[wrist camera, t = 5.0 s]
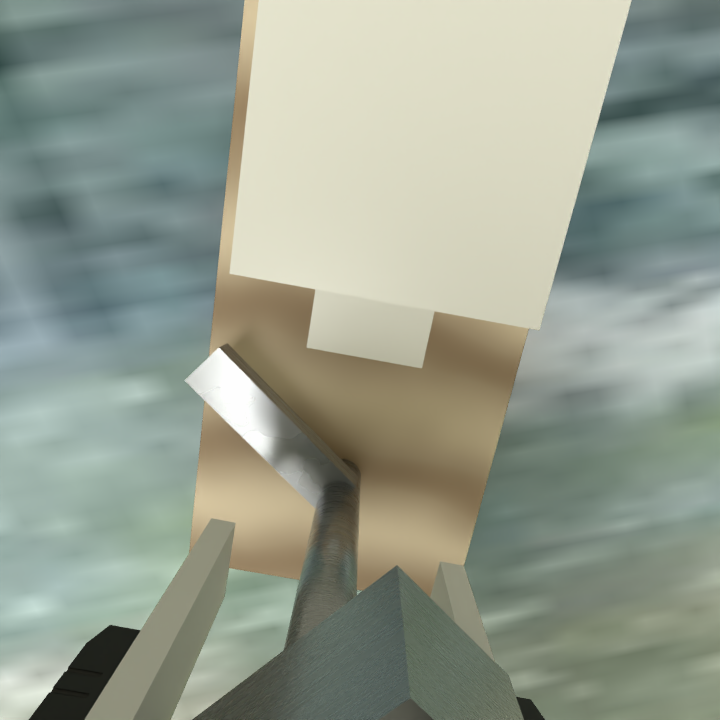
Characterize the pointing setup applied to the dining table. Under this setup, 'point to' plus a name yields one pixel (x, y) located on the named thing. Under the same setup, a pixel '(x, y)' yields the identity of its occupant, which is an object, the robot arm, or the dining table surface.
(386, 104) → the cream rectangular block
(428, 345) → the base plate
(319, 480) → the t key
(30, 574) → the dining table surface
